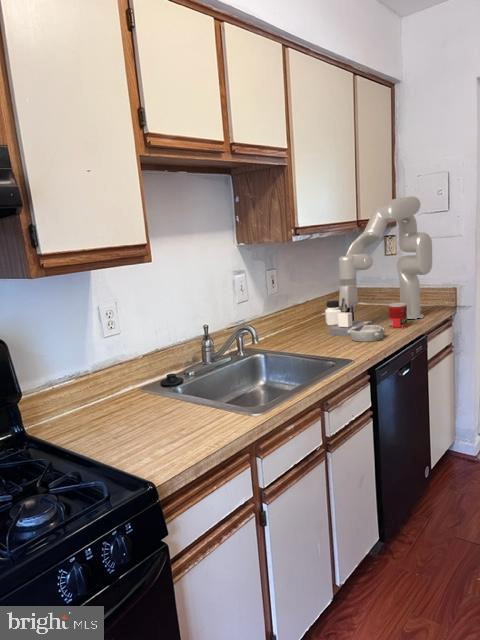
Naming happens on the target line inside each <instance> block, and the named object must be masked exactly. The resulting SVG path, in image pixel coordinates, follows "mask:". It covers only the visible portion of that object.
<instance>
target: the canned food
mask: <svg viewBox="0 0 480 640" xmlns="http://www.w3.org/2000/svg"><path fill="white" fill-rule="evenodd" d="M388 313H389V315H388V317H389V320H388V321H389V327H390V328H391V327H393V328H392V329H395V328H401V329H403V328H402V327H406V326H407V327H408V320H407V305H406V303H400V302H391V303H389V304H388ZM407 327H406V328H407Z"/></svg>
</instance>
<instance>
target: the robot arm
mask: <svg viewBox="0 0 480 640" xmlns="http://www.w3.org/2000/svg"><path fill="white" fill-rule="evenodd" d="M420 209H421V201H420V199H419V198H418V197H416V196H413V195H412V196H405V197H398V198H397V197H396V198H393V199H390V200H389V201H388V202H387V203H382V204H378V205H377V206H376V207H375V208H374V209H373V212H372V213H371V215H370V218H369V219H368V222H367V224H366V226H365V228H364V231H363V232H362V233H361V234H360V235H358V236H357V238H356V239H355V240H354V241H352V243H351V245H349V248H348V249H347V251H346V253H345V255H343V256H339V258H338V268H339V270H338V271H339V285H340V286H339V297H338V298H339V299H338V302H339V308H342V311H343V312H347V313H352V322H353V321H354V320H355V308H357V305H358V303H359V296H358V293H359V292H358V287H357V284H358V283H357V282H358V281H357V280H358V279H357V271H367V270H369V269H370V268H371V267H372V266H373V263H374V259H373V257H372V255H370V254H368V253H363V252H364V250H365V249H367V248H368V247H370V246H372V245H374V244H375V243H377V242H378V241H380V240H381V239H382V237H383V235H384V232H385V230H386V228H387V226H388V224H389V223H390V222H391V223H392V222H393V223H394V222H397V225H398V243H399V244H398V245H399V249H400V251H401V252H403V253H415V254H408V255H407V254H406V255H402V256H401V257H400V258H398V260H397V262H396V269H397V274H398V280H399V281H398V282H399V283H398V284H399V300H400V301H399V303H406V305H407V319H415V320H418V319H417V318H421V319H423V318H424V317H425V315H424V314H423V313H421V311H422V307H421V293H420V292H421V291H420V290H421V289H420V287H421V286H420V285H421V283H420V279H419V277H418V276H425V275H428V274H430V272H431V271H432V269H433V268H432V267H433V242H432V241H433V240H432V237H431V236H430V235H429V234H428V233H426V232H423V231H421V232H420V231H419V232H418V225H417V224H418V222H417V220H416V218H415V215H416V214H417V213H419V211H420ZM422 317H423V318H422Z"/></svg>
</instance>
